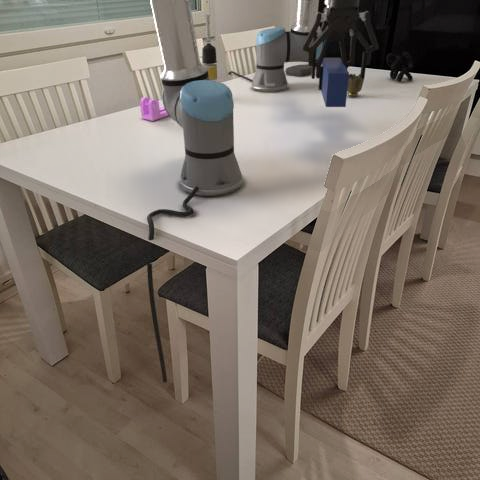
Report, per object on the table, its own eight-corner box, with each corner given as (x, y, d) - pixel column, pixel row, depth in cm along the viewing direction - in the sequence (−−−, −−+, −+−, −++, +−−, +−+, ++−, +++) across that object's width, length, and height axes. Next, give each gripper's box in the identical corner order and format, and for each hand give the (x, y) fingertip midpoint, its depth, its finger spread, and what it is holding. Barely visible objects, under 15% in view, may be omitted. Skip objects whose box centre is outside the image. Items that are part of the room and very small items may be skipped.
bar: (345, 107, 125) (349, 73, 120) (325, 106, 125) (328, 73, 120) (337, 87, 144) (340, 57, 139) (320, 87, 144) (322, 57, 139)
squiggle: (400, 92, 202) (376, 71, 205) (417, 76, 202) (392, 56, 205) (405, 81, 191) (380, 59, 194) (423, 64, 191) (397, 42, 194)
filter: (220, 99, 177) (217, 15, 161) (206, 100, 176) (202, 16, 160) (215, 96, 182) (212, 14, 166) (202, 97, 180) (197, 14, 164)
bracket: (152, 121, 154) (150, 100, 151) (141, 118, 157) (139, 98, 154) (178, 112, 163) (177, 92, 159) (167, 109, 166) (165, 90, 162)
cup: (340, 97, 177) (342, 76, 172) (346, 93, 182) (348, 72, 178) (359, 99, 174) (362, 78, 169) (364, 95, 179) (366, 74, 175)
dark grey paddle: (283, 74, 214) (310, 66, 231) (302, 77, 208) (328, 69, 225) (283, 67, 213) (310, 60, 229) (302, 70, 207) (329, 62, 223)
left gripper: (392, -12, 116) (380, 74, 127) (295, -9, 118) (292, 74, 129) (398, -10, 109) (385, 80, 121) (296, -8, 111) (292, 80, 123)
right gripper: (368, 4, 130) (358, 86, 143) (304, 5, 132) (299, 86, 144) (372, 6, 124) (361, 92, 136) (305, 7, 125) (300, 92, 138)
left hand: (337, 77), depth 125 cm, fingers open, 13 cm apart
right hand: (330, 88), depth 140 cm, fingers closed on bar, 5 cm apart
